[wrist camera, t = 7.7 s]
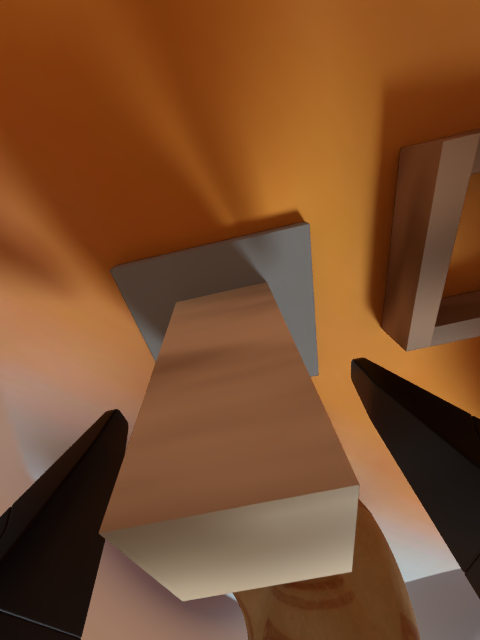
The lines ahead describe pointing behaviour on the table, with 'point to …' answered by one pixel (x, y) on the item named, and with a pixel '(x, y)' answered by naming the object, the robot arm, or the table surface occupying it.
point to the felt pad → (227, 282)
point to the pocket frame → (429, 244)
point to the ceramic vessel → (338, 598)
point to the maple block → (233, 458)
